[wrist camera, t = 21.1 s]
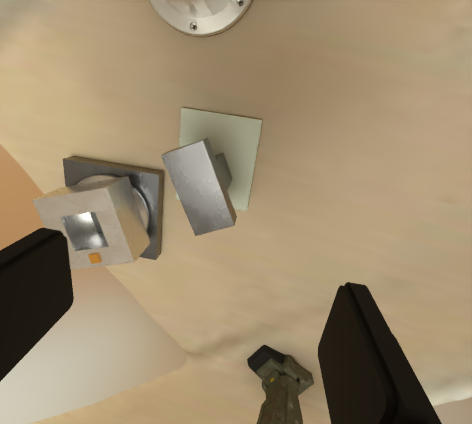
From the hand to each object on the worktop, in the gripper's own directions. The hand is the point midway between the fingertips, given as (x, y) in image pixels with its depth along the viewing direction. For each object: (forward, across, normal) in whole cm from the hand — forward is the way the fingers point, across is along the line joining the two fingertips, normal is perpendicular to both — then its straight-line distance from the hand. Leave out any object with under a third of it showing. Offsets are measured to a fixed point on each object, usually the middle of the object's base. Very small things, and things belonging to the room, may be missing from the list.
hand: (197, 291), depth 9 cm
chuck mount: (+28, +18, +11) cm, 35 cm away
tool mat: (+28, +4, +2) cm, 29 cm away
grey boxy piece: (+26, +18, +11) cm, 33 cm away
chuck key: (+28, +4, +3) cm, 28 cm away
